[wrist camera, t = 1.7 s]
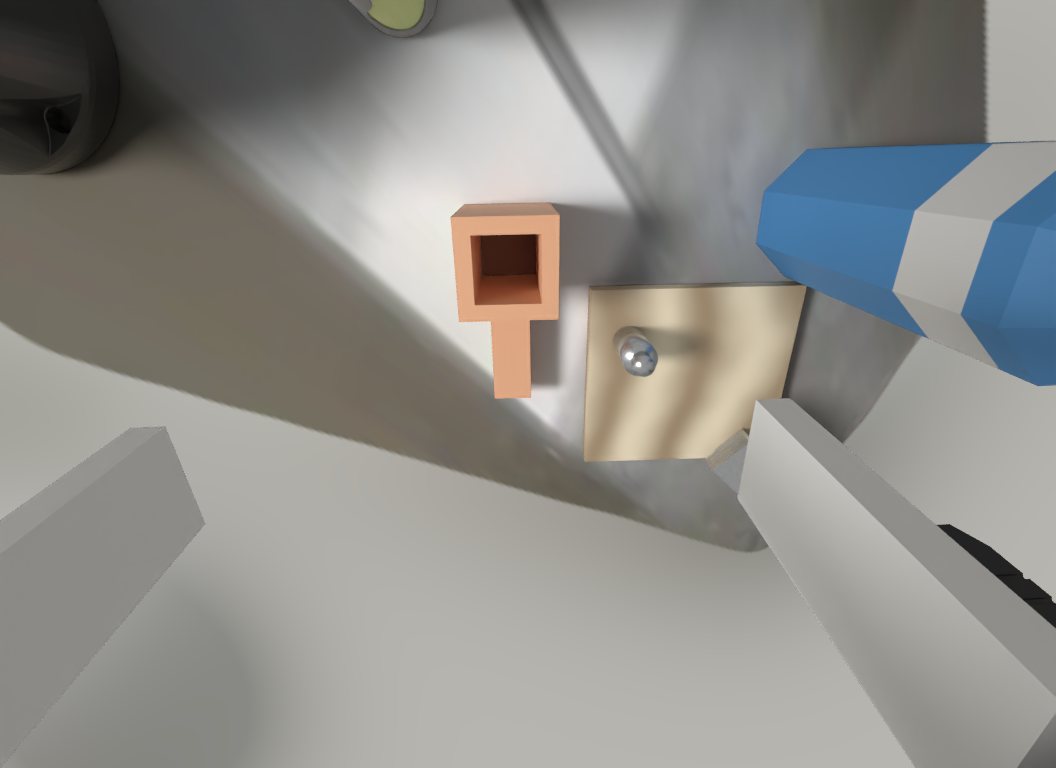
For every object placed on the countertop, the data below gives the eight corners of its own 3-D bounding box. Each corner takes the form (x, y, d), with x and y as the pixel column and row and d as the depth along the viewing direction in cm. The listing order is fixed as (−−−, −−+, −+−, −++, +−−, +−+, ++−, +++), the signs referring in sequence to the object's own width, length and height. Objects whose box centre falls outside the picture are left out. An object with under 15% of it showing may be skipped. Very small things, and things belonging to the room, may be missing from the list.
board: (582, 453, 43) (584, 461, 42) (589, 286, 36) (591, 290, 35) (761, 448, 43) (767, 456, 42) (798, 281, 37) (807, 285, 36)
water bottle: (730, 254, 36) (1108, 421, 13) (801, 120, 32) (1494, 29, 9) (835, 296, 37) (1333, 509, 15) (914, 172, 34) (1738, 201, 11)
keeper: (673, 408, 41) (712, 470, 33) (701, 385, 40) (748, 443, 32) (721, 455, 43) (770, 524, 35) (749, 434, 42) (805, 500, 34)
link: (549, 383, 40) (557, 433, 32) (476, 385, 40) (468, 436, 32) (549, 202, 34) (559, 214, 27) (464, 204, 34) (450, 217, 26)
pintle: (611, 355, 38) (626, 384, 33) (613, 326, 37) (628, 351, 32) (642, 354, 38) (661, 382, 33) (645, 325, 37) (664, 350, 32)
